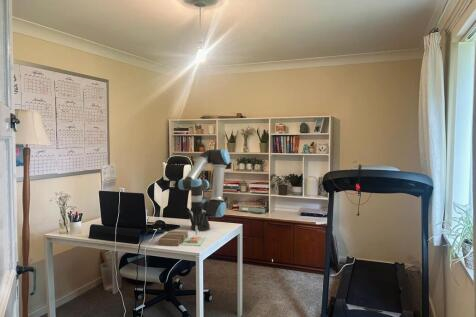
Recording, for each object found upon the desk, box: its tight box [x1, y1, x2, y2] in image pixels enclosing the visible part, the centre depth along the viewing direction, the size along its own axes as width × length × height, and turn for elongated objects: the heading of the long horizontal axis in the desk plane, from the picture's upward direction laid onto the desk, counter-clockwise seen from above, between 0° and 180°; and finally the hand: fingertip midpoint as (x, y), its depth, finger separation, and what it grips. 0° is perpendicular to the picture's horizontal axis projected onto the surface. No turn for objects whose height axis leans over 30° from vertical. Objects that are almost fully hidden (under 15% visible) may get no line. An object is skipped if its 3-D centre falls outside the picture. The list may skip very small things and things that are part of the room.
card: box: [189, 235, 202, 243], centre depth 244 cm, size 9×6×2 cm, turn 171°
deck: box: [158, 230, 189, 247], centre depth 246 cm, size 22×14×4 cm, turn 171°
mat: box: [180, 236, 208, 247], centre depth 244 cm, size 18×14×1 cm
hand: (196, 234), depth 244 cm, fingers closed
